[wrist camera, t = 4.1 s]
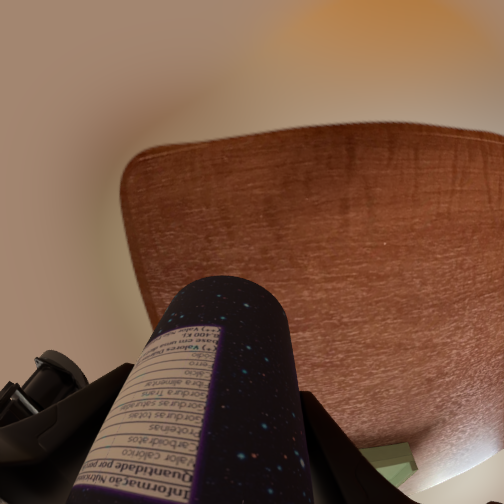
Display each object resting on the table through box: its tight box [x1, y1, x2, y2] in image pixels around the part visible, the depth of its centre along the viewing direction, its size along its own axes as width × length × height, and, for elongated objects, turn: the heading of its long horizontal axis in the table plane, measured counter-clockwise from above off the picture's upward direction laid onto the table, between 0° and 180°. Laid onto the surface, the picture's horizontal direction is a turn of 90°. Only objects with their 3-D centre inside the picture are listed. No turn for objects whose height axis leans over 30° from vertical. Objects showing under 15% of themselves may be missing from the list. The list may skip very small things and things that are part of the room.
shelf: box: [359, 442, 418, 488], centre depth 25 cm, size 16×12×5 cm
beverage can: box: [66, 276, 314, 504], centre depth 8 cm, size 6×6×12 cm
